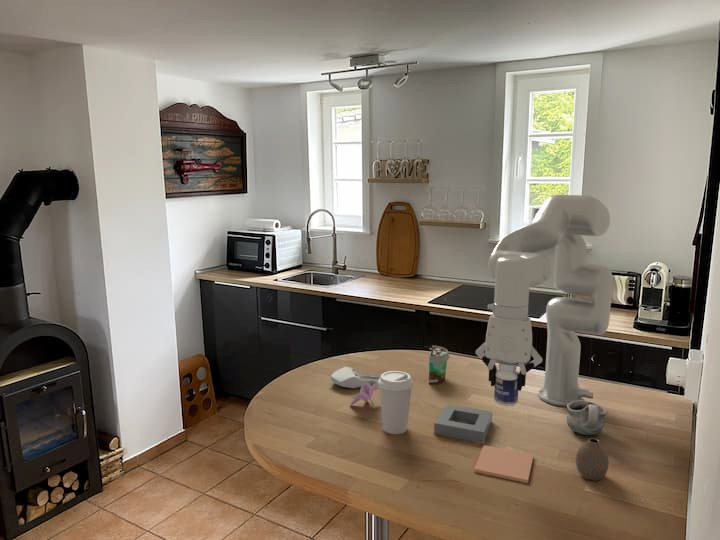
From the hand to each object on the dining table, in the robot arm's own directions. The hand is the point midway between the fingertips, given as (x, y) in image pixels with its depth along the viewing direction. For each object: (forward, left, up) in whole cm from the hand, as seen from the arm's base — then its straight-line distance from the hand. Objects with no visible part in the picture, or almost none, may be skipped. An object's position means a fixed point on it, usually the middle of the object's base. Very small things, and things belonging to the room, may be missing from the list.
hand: (506, 385), depth 127 cm
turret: (+51, -32, -20) cm, 63 cm away
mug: (-19, -23, -20) cm, 36 cm away
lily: (+42, -16, -20) cm, 49 cm away
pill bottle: (0, 0, -4) cm, 4 cm away
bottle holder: (+12, -14, -20) cm, 27 cm away
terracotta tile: (-1, +1, -20) cm, 20 cm away
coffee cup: (+29, -6, -20) cm, 36 cm away
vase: (-20, -2, -20) cm, 28 cm away
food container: (+27, -45, -20) cm, 57 cm away
